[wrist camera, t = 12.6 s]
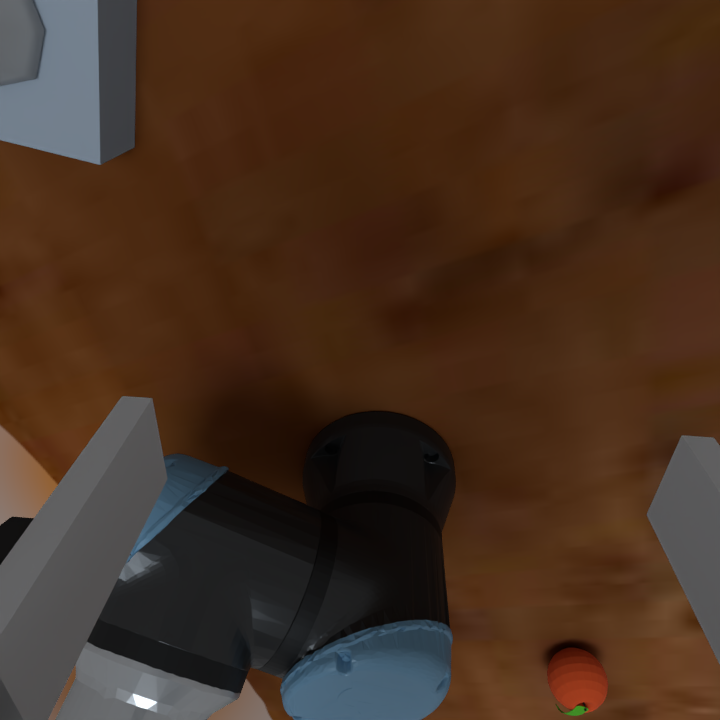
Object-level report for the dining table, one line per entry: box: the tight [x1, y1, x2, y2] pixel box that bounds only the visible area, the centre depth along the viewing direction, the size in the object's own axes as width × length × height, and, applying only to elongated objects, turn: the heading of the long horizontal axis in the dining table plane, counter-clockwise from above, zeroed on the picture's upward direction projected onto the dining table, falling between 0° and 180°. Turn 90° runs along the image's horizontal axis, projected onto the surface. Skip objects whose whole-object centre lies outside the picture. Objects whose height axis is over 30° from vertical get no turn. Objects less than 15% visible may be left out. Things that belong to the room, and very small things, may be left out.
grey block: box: [0, 0, 137, 165], centre depth 36 cm, size 13×13×6 cm
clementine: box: [547, 647, 608, 716], centre depth 69 cm, size 8×7×7 cm
